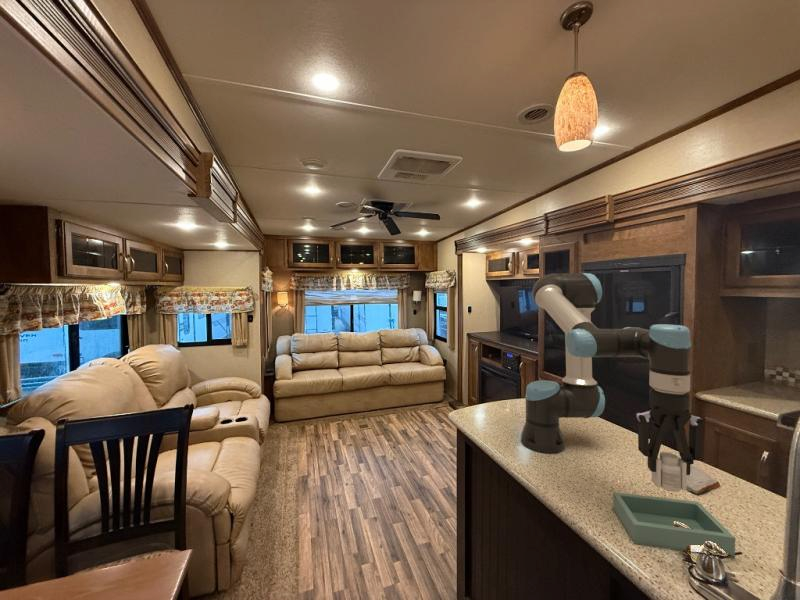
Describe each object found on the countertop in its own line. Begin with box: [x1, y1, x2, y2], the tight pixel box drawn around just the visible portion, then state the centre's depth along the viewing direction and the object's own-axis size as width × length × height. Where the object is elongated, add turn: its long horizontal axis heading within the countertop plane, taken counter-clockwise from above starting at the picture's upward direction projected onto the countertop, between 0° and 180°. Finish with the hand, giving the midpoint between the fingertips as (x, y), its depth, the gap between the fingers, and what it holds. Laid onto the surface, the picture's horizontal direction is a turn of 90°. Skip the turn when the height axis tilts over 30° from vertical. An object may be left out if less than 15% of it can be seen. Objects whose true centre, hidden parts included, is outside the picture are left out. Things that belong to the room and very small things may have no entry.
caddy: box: [612, 491, 736, 559], centre depth 79 cm, size 12×19×5 cm, turn 76°
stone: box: [685, 465, 721, 495], centre depth 98 cm, size 10×12×4 cm
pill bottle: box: [659, 451, 682, 493], centre depth 78 cm, size 4×4×8 cm
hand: (668, 485), depth 78 cm, fingers closed on pill bottle, 4 cm apart
